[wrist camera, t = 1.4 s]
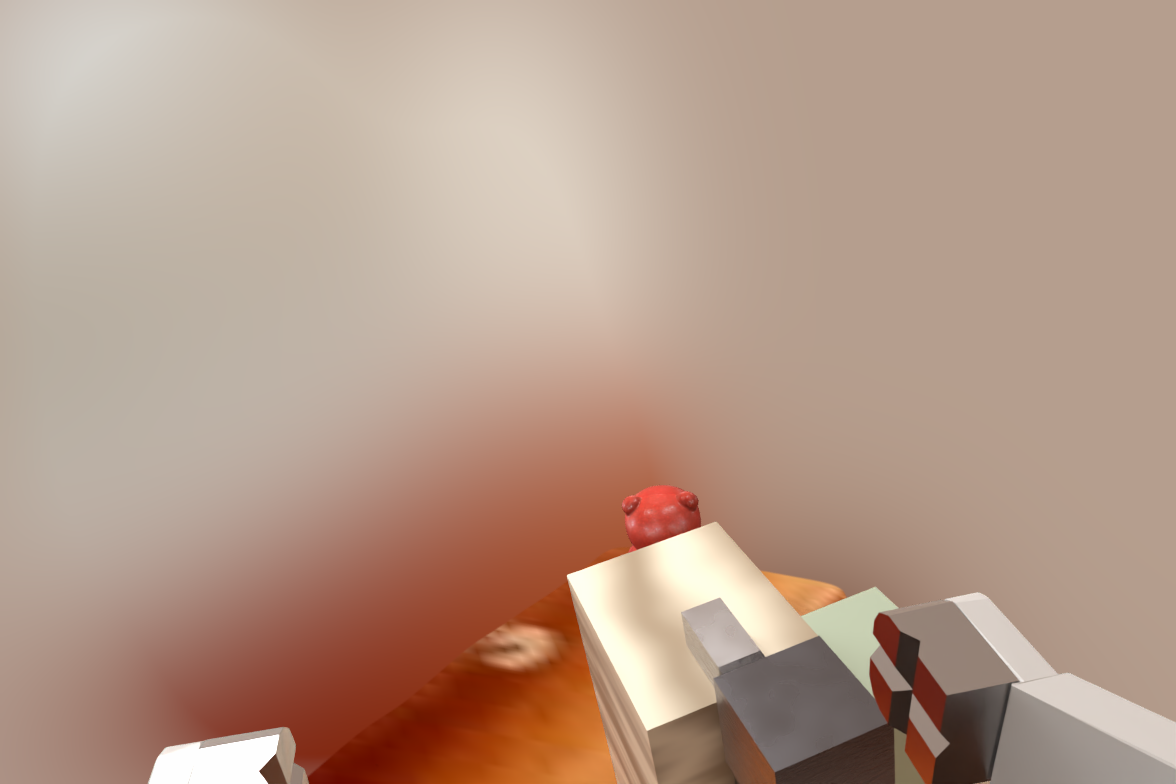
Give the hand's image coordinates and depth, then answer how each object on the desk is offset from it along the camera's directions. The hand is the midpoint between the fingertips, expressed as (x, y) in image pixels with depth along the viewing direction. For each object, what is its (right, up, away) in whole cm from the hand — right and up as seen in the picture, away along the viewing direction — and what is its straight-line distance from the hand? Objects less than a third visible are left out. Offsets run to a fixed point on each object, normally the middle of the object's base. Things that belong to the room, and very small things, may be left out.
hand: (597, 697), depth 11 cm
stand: (+10, -31, +45) cm, 55 cm away
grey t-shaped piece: (+9, -17, +29) cm, 35 cm away
